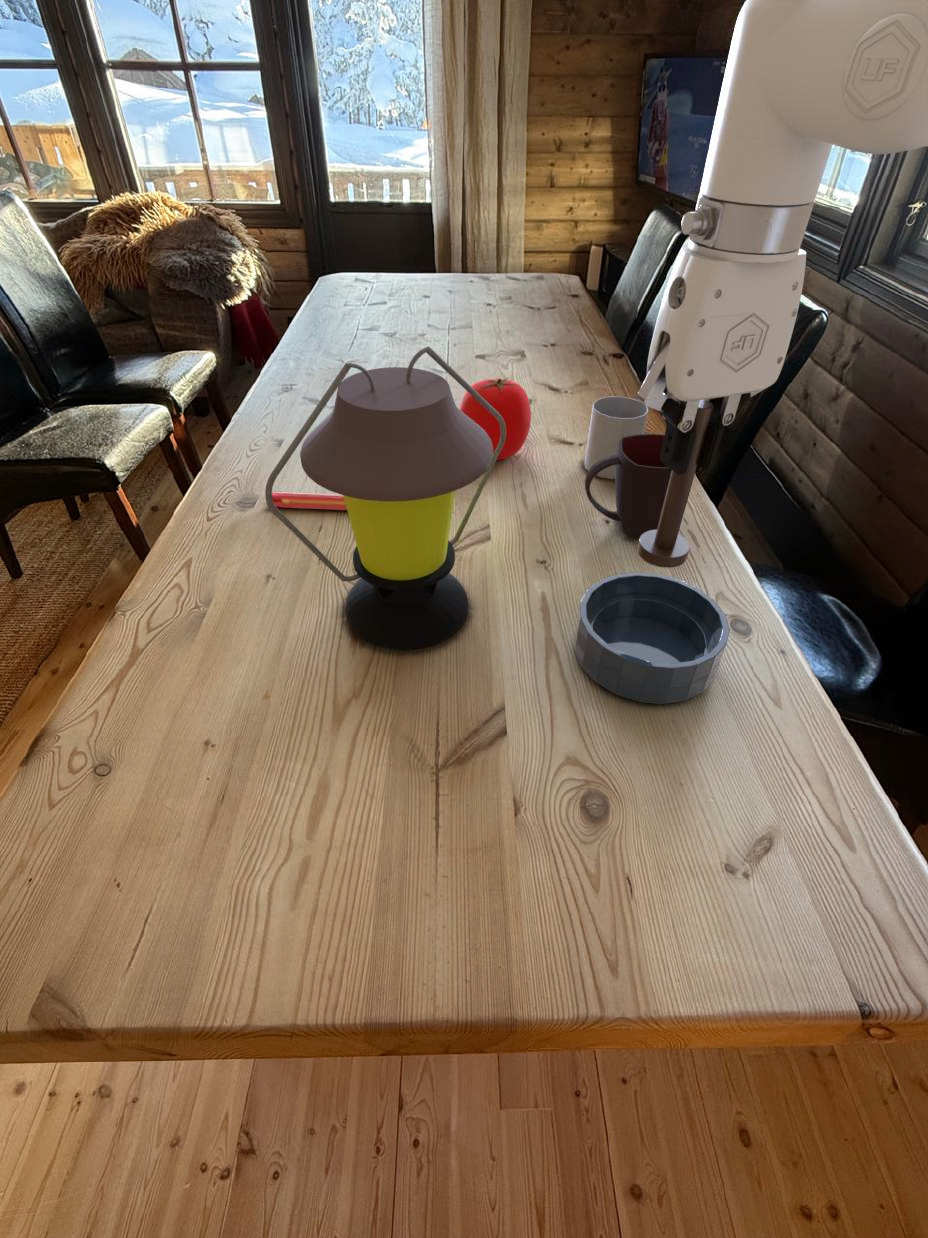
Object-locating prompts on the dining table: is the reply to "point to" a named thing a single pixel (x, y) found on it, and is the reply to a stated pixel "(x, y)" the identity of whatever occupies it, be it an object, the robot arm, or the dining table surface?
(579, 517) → the dining table surface
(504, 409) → the tomato
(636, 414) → the cup
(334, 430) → the lantern
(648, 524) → the mug
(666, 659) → the bowl
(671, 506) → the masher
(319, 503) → the red bar
